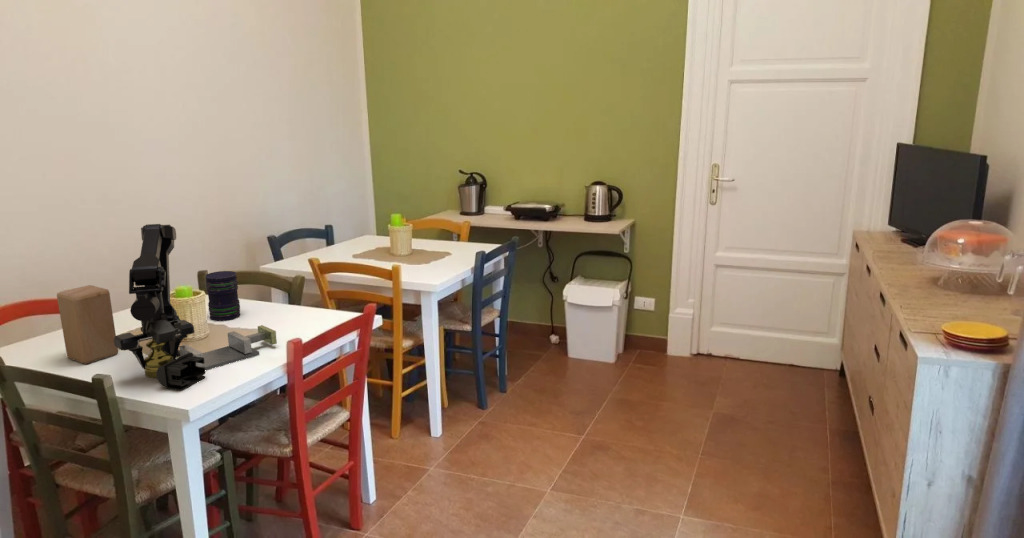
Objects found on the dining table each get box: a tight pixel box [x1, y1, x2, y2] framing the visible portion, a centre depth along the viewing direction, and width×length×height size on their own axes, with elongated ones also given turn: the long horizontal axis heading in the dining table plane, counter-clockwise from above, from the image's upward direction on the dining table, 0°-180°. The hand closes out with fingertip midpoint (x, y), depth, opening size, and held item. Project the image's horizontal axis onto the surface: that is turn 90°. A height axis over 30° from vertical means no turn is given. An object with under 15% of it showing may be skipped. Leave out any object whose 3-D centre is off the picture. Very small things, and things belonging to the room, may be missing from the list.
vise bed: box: [179, 344, 260, 371], centre depth 197 cm, size 11×18×5 cm, turn 138°
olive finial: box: [143, 339, 174, 379], centre depth 186 cm, size 7×7×10 cm
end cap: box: [156, 353, 207, 392], centre depth 181 cm, size 10×7×7 cm
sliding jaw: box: [226, 324, 278, 354], centre depth 204 cm, size 10×10×4 cm
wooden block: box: [56, 284, 119, 365], centre depth 197 cm, size 10×10×20 cm
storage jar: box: [205, 270, 241, 322], centre depth 233 cm, size 10×10×15 cm
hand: (159, 364), depth 187 cm, fingers closed on olive finial, 7 cm apart
